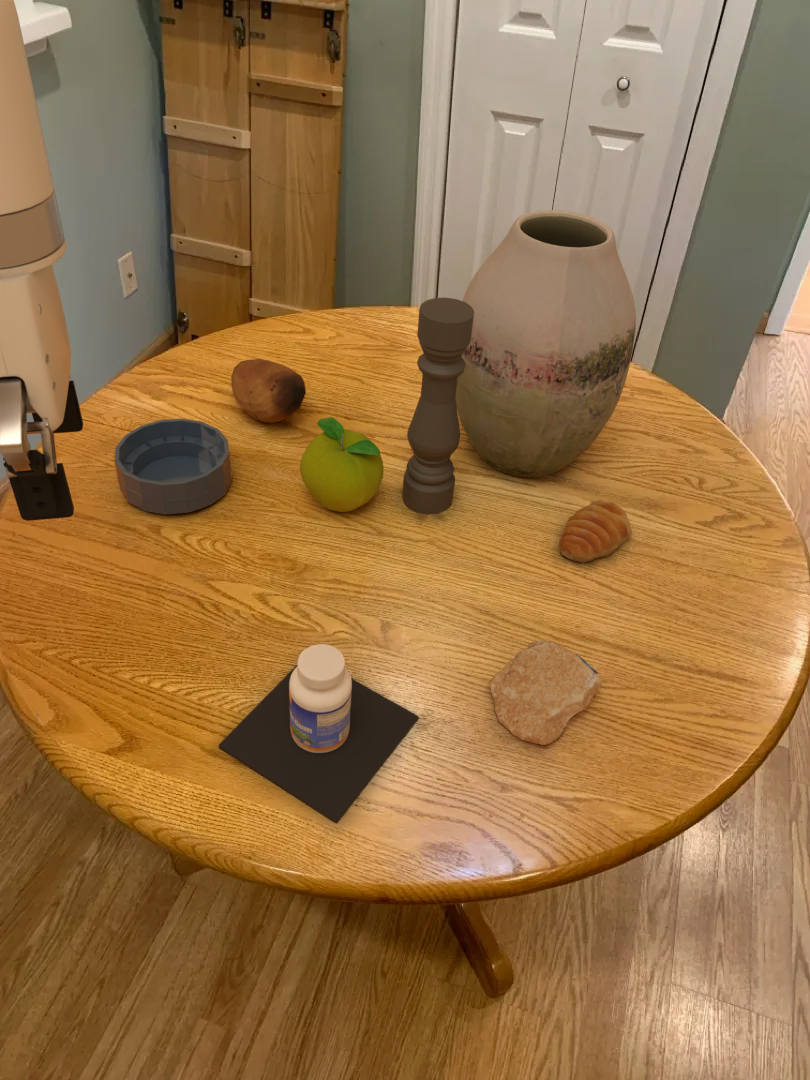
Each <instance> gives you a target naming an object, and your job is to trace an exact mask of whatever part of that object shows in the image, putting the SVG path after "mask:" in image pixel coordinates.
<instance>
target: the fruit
mask: <svg viewBox="0 0 810 1080" xmlns="http://www.w3.org/2000/svg"><path fill="white" fill-rule="evenodd" d="M316 424H317V426H318V427H319V428H320V429H321V430H322V431H323V432H321V433H319V434H318V435H316V436H315V437H314V438H313V439H312V440H311V441H310V443H309V444H308V445H307V447H306V449H305V451H304V452H303V453H302V456H301V459H300V463H299V472H300V477H301V479H302V482H303V484H304V486H305V488H306V489H307V491H308V492H309V494H310V495H311V496H312V497H313V498H314V500H316V501H317V502H318V503H319V504H320V505H322V506H323V507H324V508H326V509H328V510H330V511H333V512H338V513H339V512H340V513H348V512H351V511H353V510H354V511H355V510H356V509H358V508H360V507H362V506H363V505H365V504H367V503H368V502H369V501H371V500H372V498H374V496H375V495H376V494H377V493H378V490H379V489H380V487H381V484H382V481H383V477H384V462H383V458H382V455H381V451H380V449H379V448H378V446H377V445H376V444H375V442H373V441H371V439H369V438H368V437H367V436H366V435H365V434H364V433H361V432H360V433H359V432H356V431H353V430H351V429H347V428H344V425H342V423H341V422H340V421H339V420H338V419H337V418H335V417H331V416H330V417H324V418H320V419H319V420H317V422H316Z"/></svg>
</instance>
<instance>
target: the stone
mask: <svg viewBox="0 0 810 1080" xmlns="http://www.w3.org/2000/svg"><path fill="white" fill-rule="evenodd" d="M598 674H599V671H597V670H596V669H595V668H594V667H592V665H590V664H589V663H588V662H587V661H586V660H585V659H584V658H583V657H582V656H580V654H578V653H575V652H573V651H571V650H570V649H568V648H567V647H565V646H563V645H562V644H559V643H557V642H555V641H552V640H550V641H547V640H543V639H542V640H534V641H531V642H530V643H529V644H528V646H527V647H526V648H525V649H524V650H521V651H519V652H517V653H516V654H515V656H514V657H513V659H511V660H509V661H508V662H507V663H506V665H505V666H503V668H502V670H500V671H498V672H497V673H496V674H495V675H493V676H492V678H491V679H490V680H489V685H490V692H491V698H492V699H493V701H494V703H493V707H494V708H495V709H494V713H495V715H496V718H497V719H496V720H497V722H498V723H499V724H501V726H503V727H504V728H505V729H507V731H508V732H509V733H511V734H512V735H513V736H514V737H516V738H518V739H520V740H521V741H525V742H529V743H532V744H535V745H540V746H548V745H549V744H553V743H554V742H555V741H558V740H559V738H561V736H563V733H564V731H565V730H566V729H567V724H568V722H569V721H570V719H571V718H573V717H574V716H575V715H576V714H578V713H580V712H583V711H584V710H586V709H588V708H589V707H590V705H591V702H592V701H593V699H594V698H595V697H596V696H597V694H598V692H599V689H600V688H601V687H602V685H603V682H602V679H601V677H599V676H598Z"/></svg>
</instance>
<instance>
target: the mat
mask: <svg viewBox="0 0 810 1080" xmlns="http://www.w3.org/2000/svg"><path fill="white" fill-rule="evenodd" d="M296 667H297V664H296V665H295V666H294V667H293V668H292V669H291V670H290V671H289V672H288V673H287V675H285V677H283V678H282V679H281V680H280V682H279V683H278V684H277V685H275V687H274V688H273V689H272V690H271V691H270V692H269V693H267V695H265V697H264V698H263V699H262V700H261V701H260V702H259V703H258V704H257V705H256V706H255V707H254V708H253V709H252V710H251V711H250V712H249V713H248V714H247V715H246V716H245V717H244V718H243V719H242V720H241V721H240V723H238V724H237V725H236V726H235V728H234V729H232V730H231V732H230V733H229V734H228V735H227V736H226V737H224V739H223V740H222V741H221V742H220V743H219V744H218V749H219V750H221V751H222V752H224V753H226V754H227V755H229V756H230V757H232V758H234V759H235V760H236V761H238V762H240V763H241V764H243V765H244V766H246V767H247V768H249V769H251V770H252V771H254V772H255V773H257V774H258V775H259V776H261V777H263V778H265V779H266V780H268V781H269V782H271V783H272V784H274V785H275V786H277V787H278V788H280V789H281V790H283V791H284V792H286V793H288V794H289V795H290V796H292V797H294V798H296V799H297V800H298V801H300V802H302V803H303V804H305V805H306V806H308V807H309V808H311V809H312V810H314V811H316V812H317V813H319V814H320V815H322V816H323V817H325V818H327V819H328V820H330V821H331V822H333V823H335V824H336V825H337V824H338V823H339V822H340V820H341V819H342V818H343V816H344V815H345V814H346V812H347V811H348V810H349V809H350V807H351V806H352V805H353V804H354V802H356V800H357V799H358V798H359V796H360V794H361V793H362V792H363V791H364V790H365V788H366V787H367V786H368V784H369V783H370V782H371V780H372V779H373V778H374V777H375V775H376V774H377V773H378V772H379V770H380V769H381V768H382V767H383V765H384V764H385V763H386V761H387V760H388V758H390V756H391V755H392V754H393V752H394V751H395V750H396V749H397V747H398V746H399V745H400V743H401V742H402V741H403V740H404V738H405V737H406V736H407V734H408V733H410V731H411V729H412V728H413V727H414V726H415V724H416V723H417V722H418V720H419V715H417V714H416V713H414V712H412V711H410V710H409V709H407V708H405V707H403V706H402V705H399V704H398V703H397V702H394V701H393V700H391V699H389V698H387V697H386V696H384V695H382V694H380V693H378V692H376V691H374V690H373V689H372V688H369V687H367V686H365V685H364V684H363V683H361V682H359V681H357V680H355V679H354V678H351V679H352V692H351V709H350V728H349V734H348V737H347V739H346V740H345V742H344V743H343V744H342V745H341V746H340V747H338V748H337V749H335V750H333V751H330V752H326V753H313V752H309V751H306V750H304V749H302V748H301V747H300V746H298V745H297V743H296V742H295V741H294V739H293V737H292V734H291V728H290V698H289V681H290V677H291V674H292V672H293V671H294V669H295V668H296Z"/></svg>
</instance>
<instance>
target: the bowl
mask: <svg viewBox="0 0 810 1080" xmlns="http://www.w3.org/2000/svg"><path fill="white" fill-rule="evenodd" d="M114 465H115V471H116V475H117V479H118V484H119V489H120V491H121V493H122V495H123V496H124V498H125V499H126V500H127V501H128V503H130V504H131V505H133V506H135V507H137V508H139V509H141V510H142V511H145V512H148V513H154V514H160V515H161V514H162V515H175V514H176V515H177V514H186V513H192V512H196V511H198V510H201V509H203V508H206V507H209V506H211V505H212V504H214V503H215V502H216V501H218V500H219V499H220V498H222V497H224V496H225V494H226V493H227V491H228V489H229V487H230V485H231V483H233V479H232V468H231V457H230V447H229V439H228V437H226V436H225V435H224V434H223V433H222V431H221V430H220V429H219V428H218V427H215V426H213V425H211V424H208V423H206V422H204V421H201V420H194V419H188V418H169V419H159V420H156V421H152V422H149V423H146V424H142V425H140V426H138V427H136V428H134V429H132V430H131V431H130V432H128V433H126V434H125V435H123V437H122V438H121V440H120V441H119V442H118V444H117V445H116V446H115V447H114Z"/></svg>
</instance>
